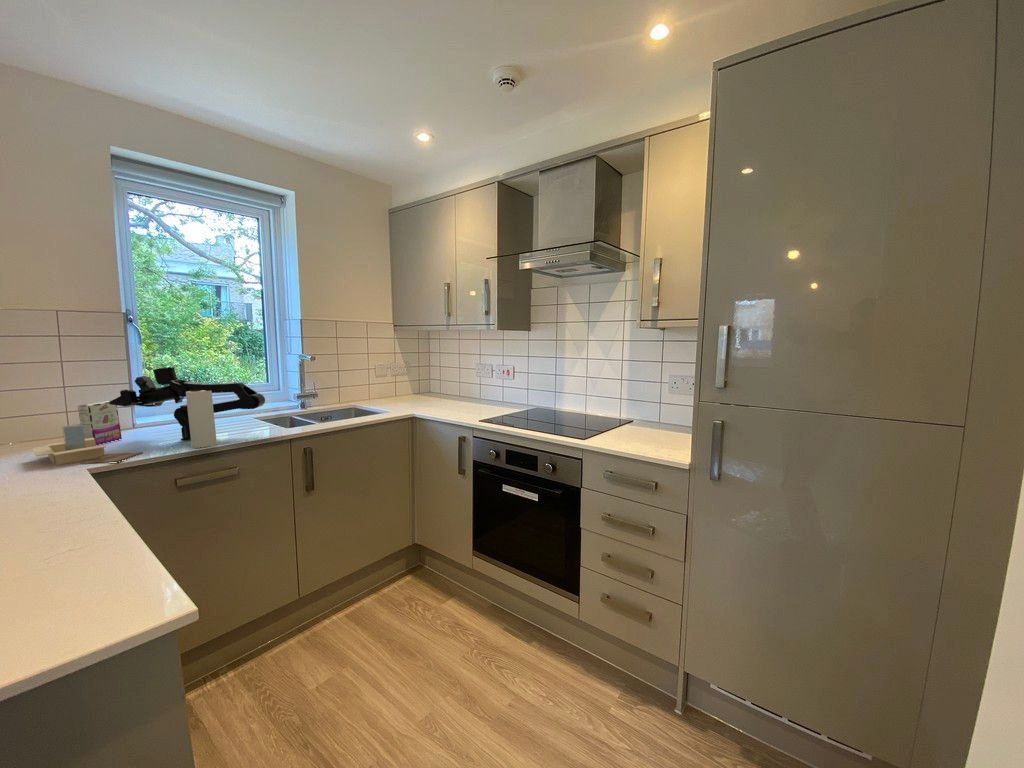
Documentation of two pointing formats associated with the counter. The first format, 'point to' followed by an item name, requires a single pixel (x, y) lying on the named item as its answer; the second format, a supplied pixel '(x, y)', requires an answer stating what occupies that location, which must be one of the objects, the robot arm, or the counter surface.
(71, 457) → the carton
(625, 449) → the counter surface
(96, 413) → the candy bar box
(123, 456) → the board
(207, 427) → the tall white block
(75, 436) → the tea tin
